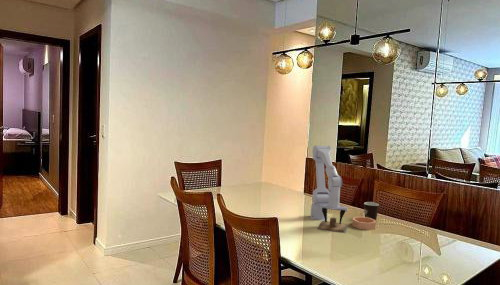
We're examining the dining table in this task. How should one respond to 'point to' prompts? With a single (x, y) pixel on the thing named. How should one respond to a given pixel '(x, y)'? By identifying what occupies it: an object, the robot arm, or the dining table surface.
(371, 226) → the bowl
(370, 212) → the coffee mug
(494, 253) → the dining table surface
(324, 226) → the lid
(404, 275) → the dining table surface
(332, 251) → the dining table surface
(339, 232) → the mat
